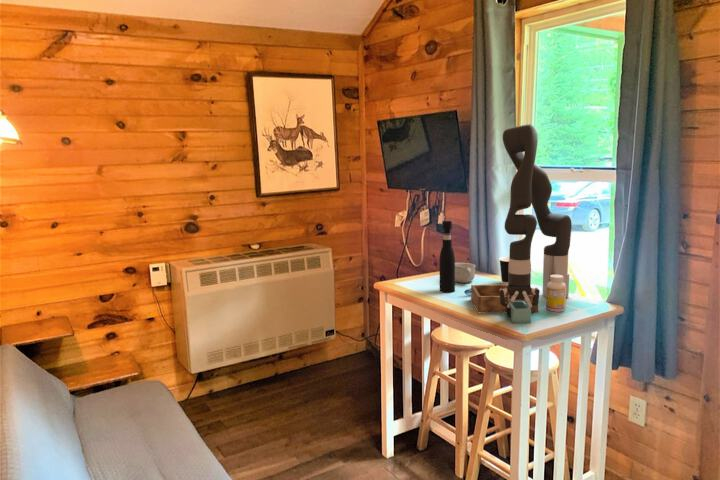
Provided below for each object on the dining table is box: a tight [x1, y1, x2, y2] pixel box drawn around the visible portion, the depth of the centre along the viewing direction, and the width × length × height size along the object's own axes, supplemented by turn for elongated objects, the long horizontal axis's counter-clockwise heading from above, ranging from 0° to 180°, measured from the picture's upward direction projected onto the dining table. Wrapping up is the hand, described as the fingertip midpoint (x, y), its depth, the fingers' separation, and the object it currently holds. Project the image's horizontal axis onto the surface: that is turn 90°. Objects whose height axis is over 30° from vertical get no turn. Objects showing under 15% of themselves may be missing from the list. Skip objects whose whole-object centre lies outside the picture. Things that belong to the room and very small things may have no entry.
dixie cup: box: [498, 256, 509, 285], centre depth 238 cm, size 8×8×11 cm
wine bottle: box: [439, 220, 456, 294], centre depth 227 cm, size 6×6×30 cm
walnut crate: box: [470, 284, 540, 313], centre depth 207 cm, size 22×17×6 cm
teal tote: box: [509, 301, 532, 324], centre depth 191 cm, size 6×10×5 cm, turn 177°
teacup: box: [455, 262, 477, 284], centre depth 242 cm, size 14×11×8 cm
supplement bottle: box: [546, 275, 567, 313], centre depth 199 cm, size 7×7×13 cm
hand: (518, 316), depth 191 cm, fingers closed on teal tote, 6 cm apart
